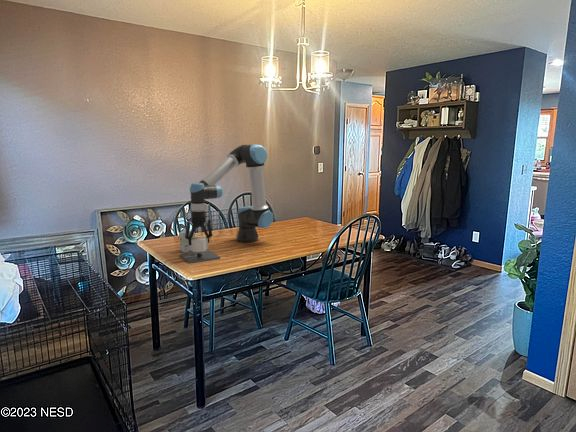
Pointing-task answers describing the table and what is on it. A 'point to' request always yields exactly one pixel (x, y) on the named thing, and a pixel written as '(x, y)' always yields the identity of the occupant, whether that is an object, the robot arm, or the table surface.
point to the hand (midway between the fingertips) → (199, 249)
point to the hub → (199, 256)
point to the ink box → (184, 242)
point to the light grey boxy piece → (199, 244)
